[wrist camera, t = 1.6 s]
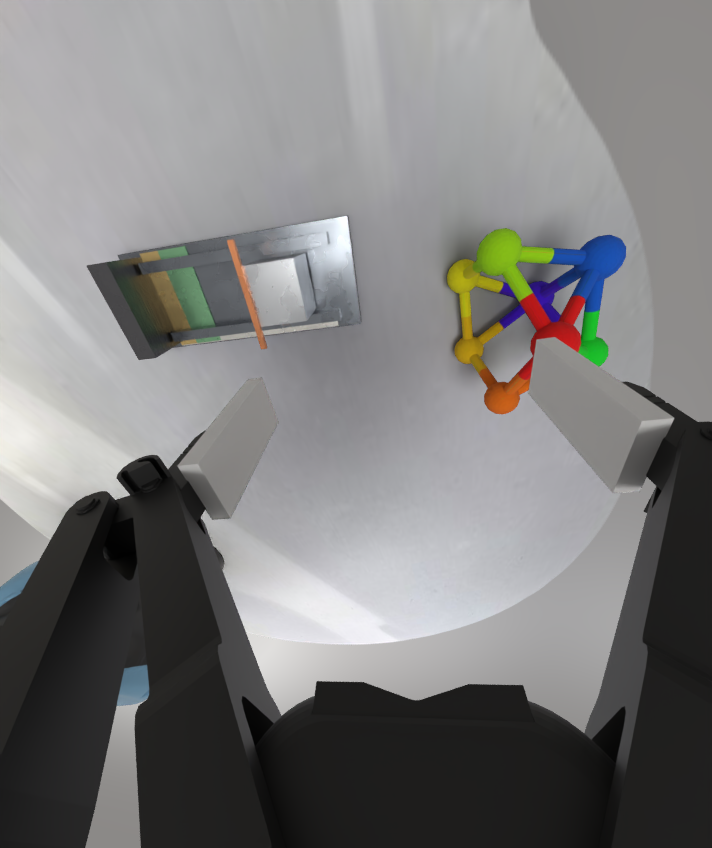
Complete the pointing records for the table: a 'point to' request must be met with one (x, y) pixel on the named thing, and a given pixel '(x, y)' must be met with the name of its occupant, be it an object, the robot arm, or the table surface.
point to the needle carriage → (275, 290)
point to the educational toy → (534, 302)
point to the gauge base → (224, 286)
